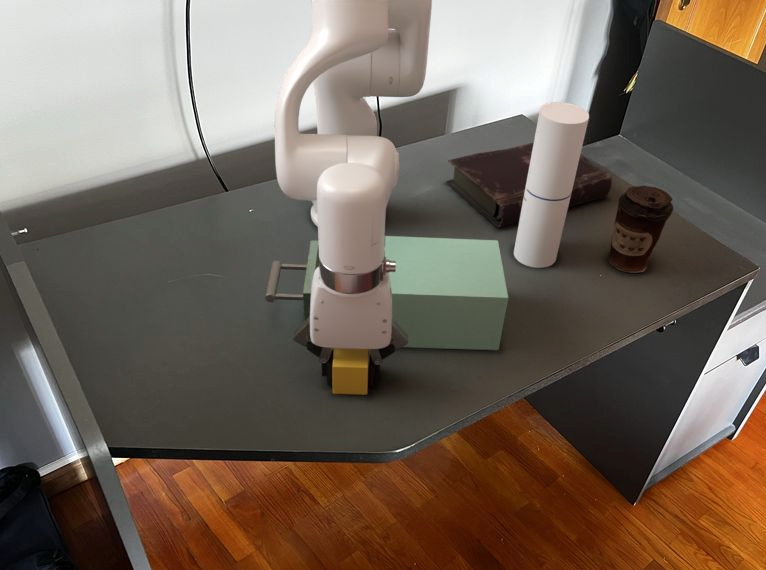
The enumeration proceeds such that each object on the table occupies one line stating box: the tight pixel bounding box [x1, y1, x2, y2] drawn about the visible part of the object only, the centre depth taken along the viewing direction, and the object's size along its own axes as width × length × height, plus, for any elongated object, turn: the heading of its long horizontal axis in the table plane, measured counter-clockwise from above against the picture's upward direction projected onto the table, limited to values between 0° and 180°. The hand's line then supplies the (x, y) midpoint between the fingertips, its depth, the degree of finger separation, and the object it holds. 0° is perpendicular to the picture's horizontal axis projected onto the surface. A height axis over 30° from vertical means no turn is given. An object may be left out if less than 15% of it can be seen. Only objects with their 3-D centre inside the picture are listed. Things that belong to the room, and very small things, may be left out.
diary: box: [445, 142, 613, 229], centre depth 137 cm, size 19×25×5 cm
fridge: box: [384, 235, 509, 351], centre depth 107 cm, size 17×14×10 cm
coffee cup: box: [608, 185, 674, 274], centre depth 119 cm, size 9×8×13 cm
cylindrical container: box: [513, 101, 590, 269], centre depth 115 cm, size 7×7×25 cm
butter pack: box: [332, 348, 370, 396], centre depth 97 cm, size 4×6×5 cm
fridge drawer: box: [264, 240, 385, 322], centre depth 106 cm, size 21×12×8 cm, turn 91°
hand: (351, 377), depth 99 cm, fingers open, 4 cm apart
